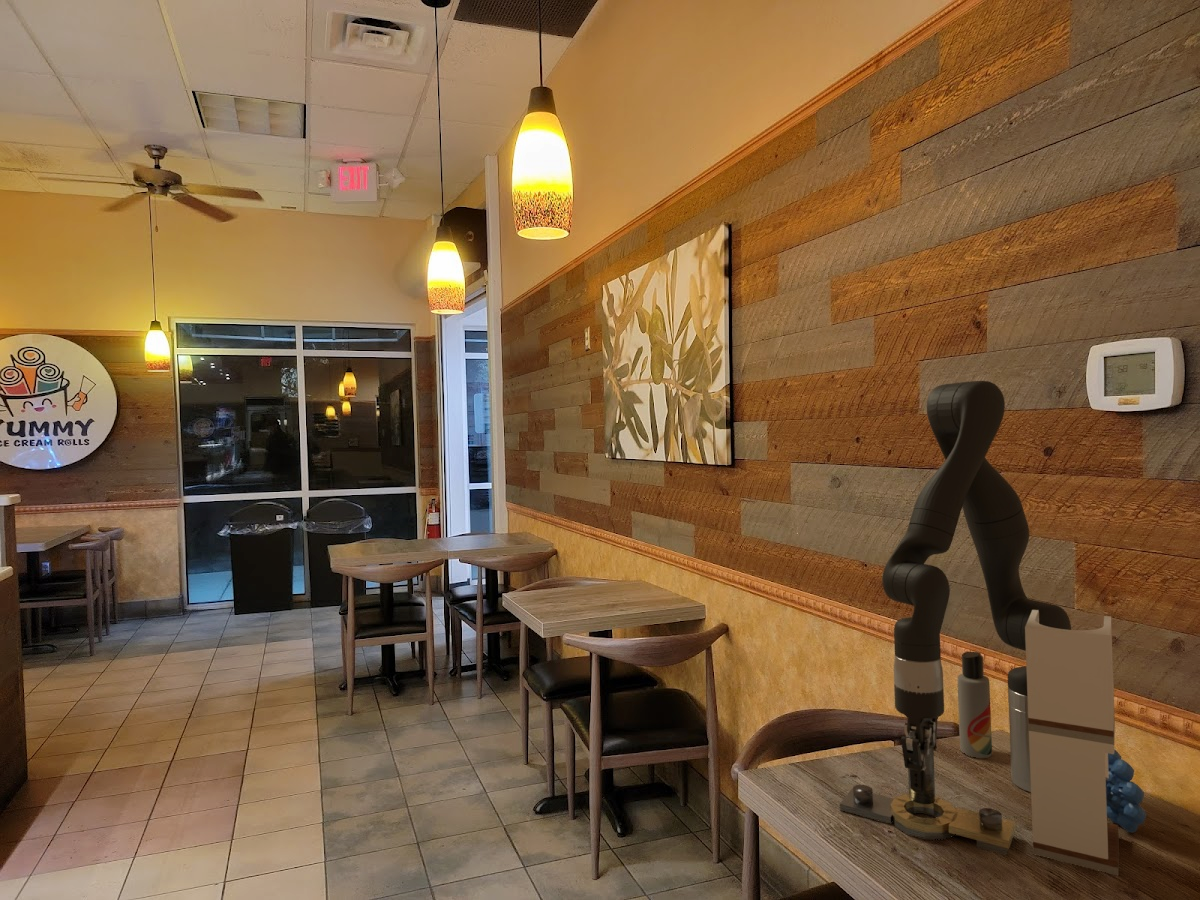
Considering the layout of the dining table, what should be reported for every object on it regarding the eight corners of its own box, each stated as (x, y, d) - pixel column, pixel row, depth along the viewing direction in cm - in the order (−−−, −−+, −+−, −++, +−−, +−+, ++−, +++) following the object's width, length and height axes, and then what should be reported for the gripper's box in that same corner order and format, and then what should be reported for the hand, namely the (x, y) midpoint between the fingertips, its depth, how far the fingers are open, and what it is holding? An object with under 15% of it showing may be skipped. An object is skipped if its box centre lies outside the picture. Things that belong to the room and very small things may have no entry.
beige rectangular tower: (1118, 875, 107) (1110, 635, 106) (1033, 854, 113) (1024, 627, 112) (1118, 837, 117) (1111, 616, 116) (1040, 820, 123) (1032, 609, 122)
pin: (912, 790, 126) (910, 737, 126) (937, 796, 124) (936, 742, 124) (906, 800, 123) (904, 746, 123) (931, 806, 121) (930, 751, 121)
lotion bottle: (996, 759, 145) (992, 657, 144) (964, 758, 146) (960, 657, 145) (987, 746, 150) (983, 648, 150) (956, 746, 151) (952, 648, 151)
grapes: (1068, 806, 127) (1066, 736, 126) (1109, 804, 126) (1107, 735, 126) (1113, 844, 115) (1110, 768, 115) (1158, 843, 115) (1155, 766, 114)
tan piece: (855, 790, 136) (854, 766, 135) (1017, 831, 120) (1016, 804, 120) (836, 815, 128) (835, 790, 127) (1007, 862, 112) (1006, 833, 112)
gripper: (931, 700, 115) (935, 810, 116) (952, 674, 126) (956, 773, 127) (882, 692, 120) (886, 797, 120) (906, 667, 131) (909, 763, 131)
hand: (922, 784), depth 124 cm, fingers closed on pin, 4 cm apart
